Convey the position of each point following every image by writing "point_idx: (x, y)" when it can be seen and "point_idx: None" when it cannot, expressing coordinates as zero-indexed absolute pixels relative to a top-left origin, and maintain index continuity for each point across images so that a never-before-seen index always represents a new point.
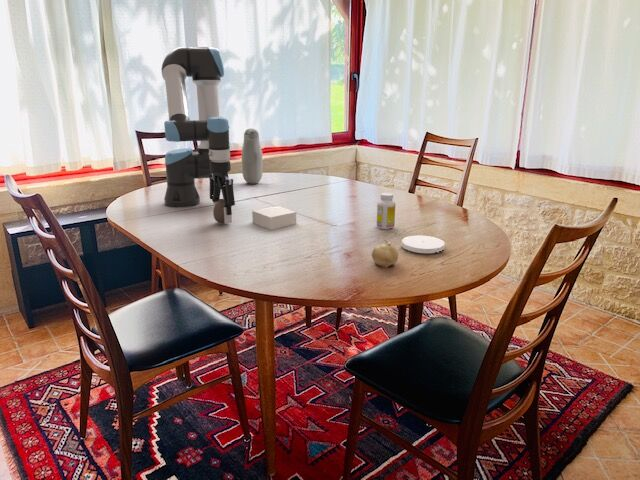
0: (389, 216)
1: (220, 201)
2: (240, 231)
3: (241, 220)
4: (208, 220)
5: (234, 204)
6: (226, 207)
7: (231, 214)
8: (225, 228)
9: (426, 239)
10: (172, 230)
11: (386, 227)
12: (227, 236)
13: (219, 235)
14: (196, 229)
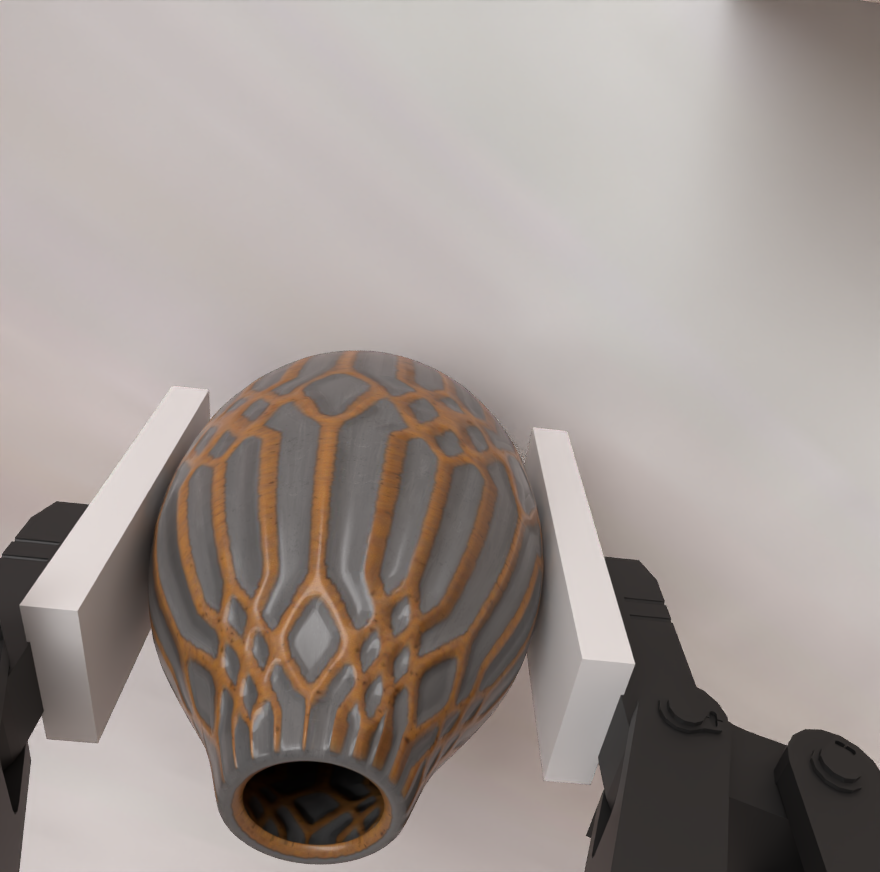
0: None
1: (369, 839)
2: (871, 491)
3: (425, 55)
4: (46, 462)
5: (868, 766)
6: (602, 740)
7: (508, 444)
8: None
9: None
10: (205, 865)
11: None
12: (845, 689)
13: (735, 716)
14: None
